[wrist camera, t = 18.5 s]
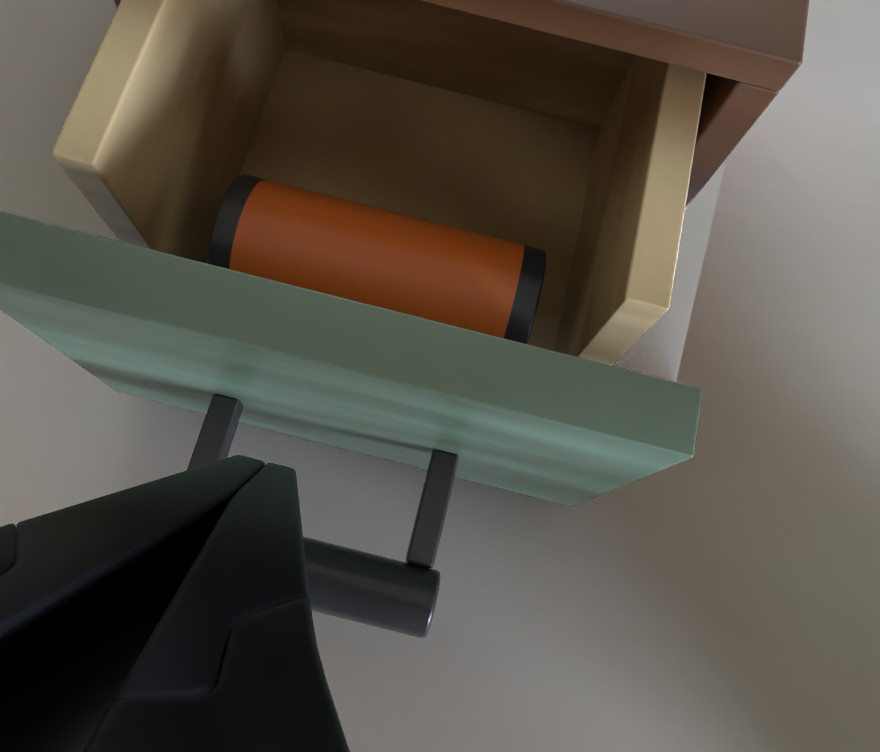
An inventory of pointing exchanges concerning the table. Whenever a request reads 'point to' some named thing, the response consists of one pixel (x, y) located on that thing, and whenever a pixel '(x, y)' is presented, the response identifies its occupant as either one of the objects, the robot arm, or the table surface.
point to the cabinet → (683, 51)
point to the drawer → (391, 188)
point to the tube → (378, 257)
